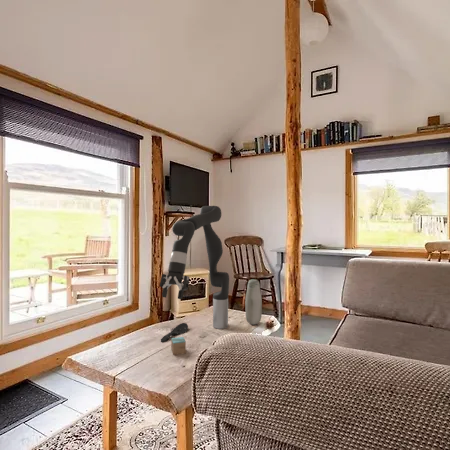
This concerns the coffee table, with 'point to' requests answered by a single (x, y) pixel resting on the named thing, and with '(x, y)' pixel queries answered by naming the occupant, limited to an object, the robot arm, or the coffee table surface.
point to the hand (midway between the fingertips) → (171, 298)
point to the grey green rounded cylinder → (253, 302)
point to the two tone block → (178, 345)
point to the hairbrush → (176, 331)
